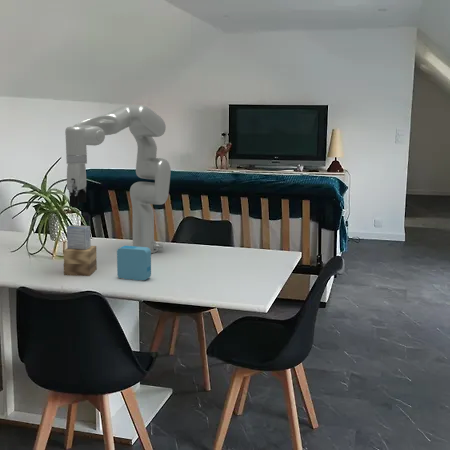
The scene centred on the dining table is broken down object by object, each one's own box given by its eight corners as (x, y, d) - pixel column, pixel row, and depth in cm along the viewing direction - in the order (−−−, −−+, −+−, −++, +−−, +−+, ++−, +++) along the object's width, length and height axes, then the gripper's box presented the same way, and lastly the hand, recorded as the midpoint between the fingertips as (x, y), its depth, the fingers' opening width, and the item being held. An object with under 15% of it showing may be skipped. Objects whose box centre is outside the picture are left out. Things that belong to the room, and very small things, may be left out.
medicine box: (91, 247, 232) (90, 226, 230) (85, 250, 228) (85, 228, 226) (72, 246, 234) (71, 224, 232) (67, 248, 229) (66, 226, 228)
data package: (151, 278, 226) (151, 247, 223) (146, 281, 221) (146, 249, 219) (122, 275, 229) (121, 245, 226) (117, 278, 224) (116, 247, 222)
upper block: (96, 258, 236) (96, 245, 235) (90, 264, 226) (89, 251, 225) (71, 257, 236) (71, 245, 236) (64, 263, 227) (63, 250, 226)
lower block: (96, 270, 237) (96, 258, 236) (89, 276, 227) (89, 264, 226) (72, 269, 238) (71, 257, 237) (63, 276, 228) (63, 263, 227)
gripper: (74, 157, 233) (75, 200, 237) (59, 161, 216) (60, 207, 220) (93, 158, 233) (94, 201, 236) (79, 161, 216) (80, 208, 219)
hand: (78, 204), depth 228 cm, fingers open, 9 cm apart
